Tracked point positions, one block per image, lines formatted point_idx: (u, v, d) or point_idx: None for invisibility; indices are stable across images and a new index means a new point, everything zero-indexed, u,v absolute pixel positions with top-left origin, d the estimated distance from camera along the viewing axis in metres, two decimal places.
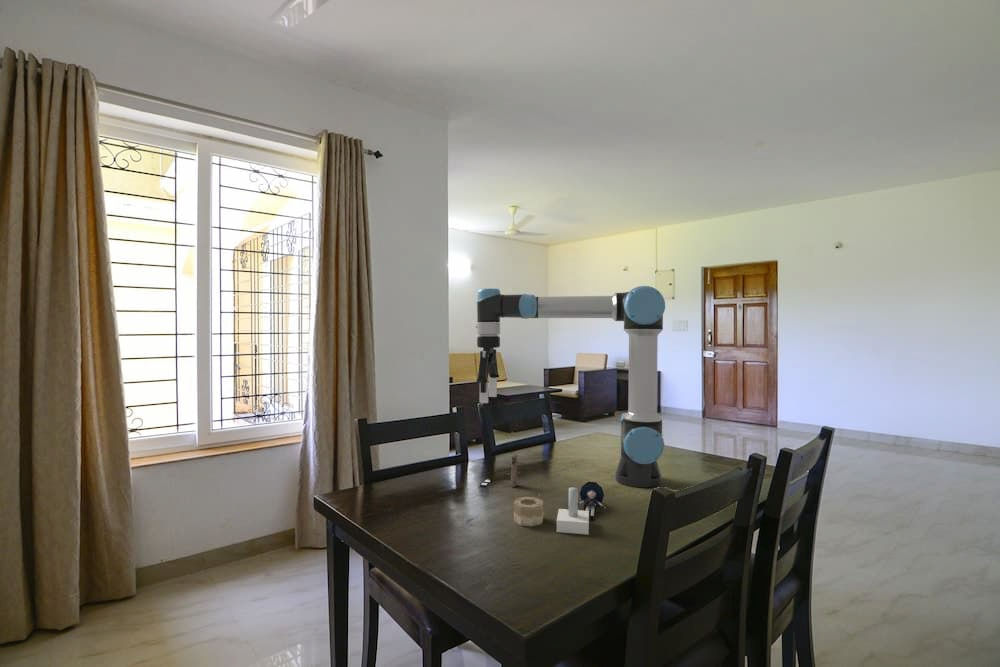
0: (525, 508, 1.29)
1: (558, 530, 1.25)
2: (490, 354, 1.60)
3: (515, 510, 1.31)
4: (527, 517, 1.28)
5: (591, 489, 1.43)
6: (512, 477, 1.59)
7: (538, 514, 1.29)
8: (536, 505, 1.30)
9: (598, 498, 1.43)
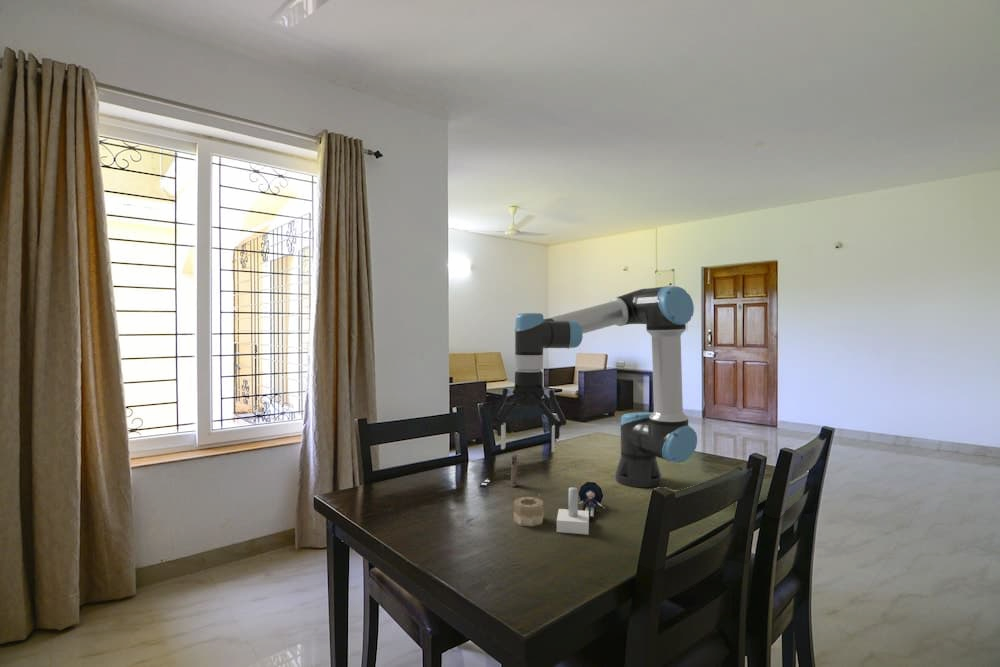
0: (525, 508, 1.29)
1: (558, 530, 1.25)
2: (520, 393, 1.31)
3: (515, 510, 1.31)
4: (527, 517, 1.28)
5: (590, 489, 1.43)
6: (513, 477, 1.60)
7: (538, 514, 1.29)
8: (536, 505, 1.30)
9: (597, 498, 1.42)
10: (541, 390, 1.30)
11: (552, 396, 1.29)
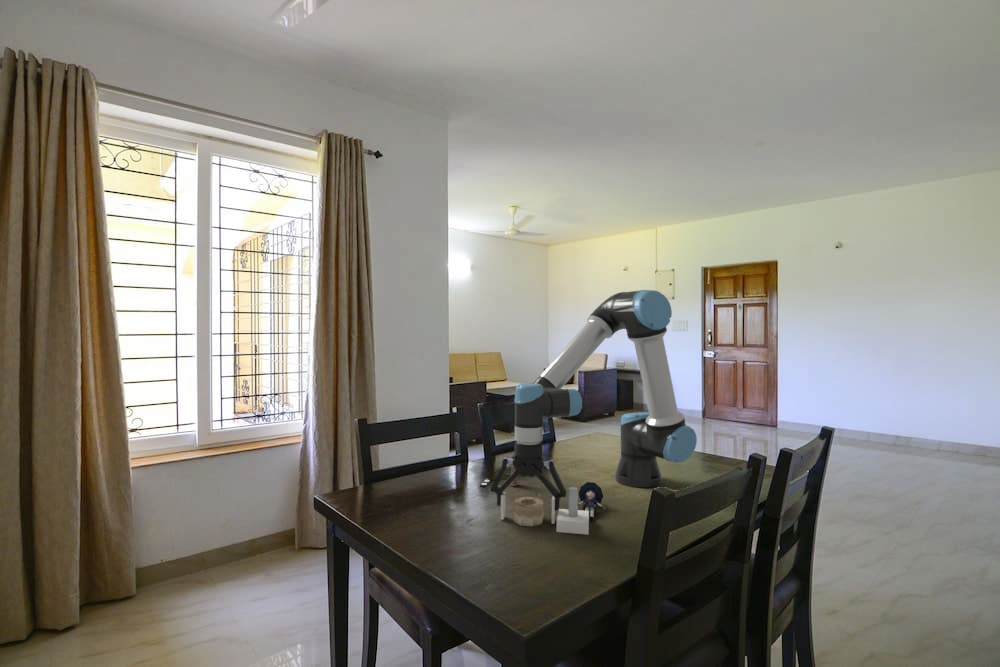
0: (525, 508, 1.29)
1: (558, 530, 1.25)
2: (520, 464, 1.31)
3: (515, 510, 1.31)
4: (527, 517, 1.28)
5: (590, 490, 1.43)
6: None
7: (538, 514, 1.29)
8: (536, 505, 1.30)
9: (597, 499, 1.42)
10: (541, 462, 1.30)
11: (552, 468, 1.30)
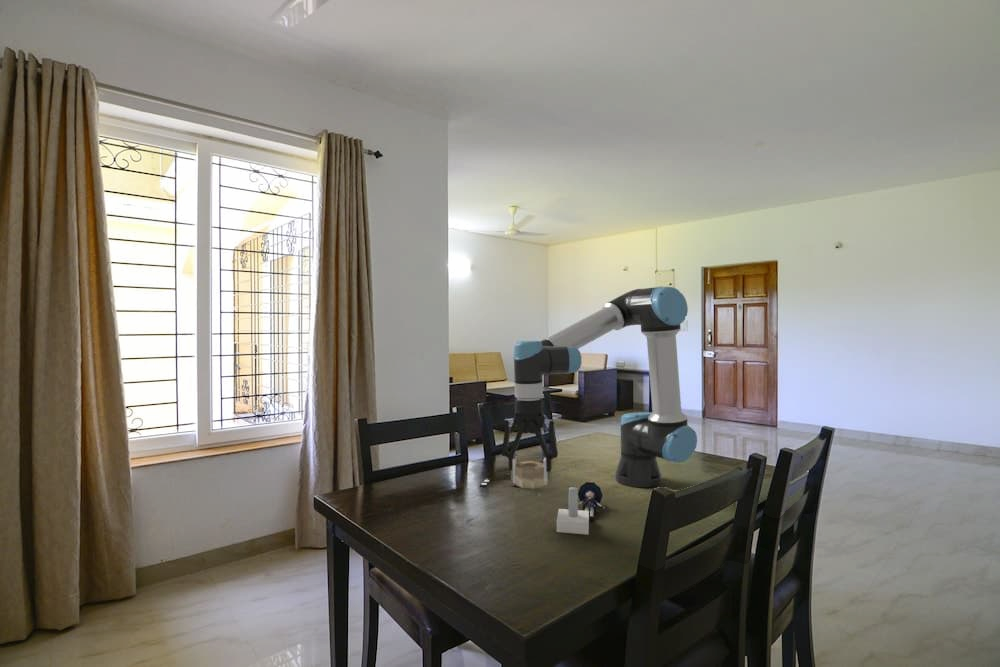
0: (526, 470, 1.29)
1: (558, 530, 1.25)
2: (520, 422, 1.31)
3: (517, 473, 1.31)
4: (529, 479, 1.28)
5: (589, 489, 1.43)
6: None
7: (540, 476, 1.29)
8: (537, 467, 1.30)
9: (596, 498, 1.42)
10: (542, 418, 1.30)
11: (551, 427, 1.30)
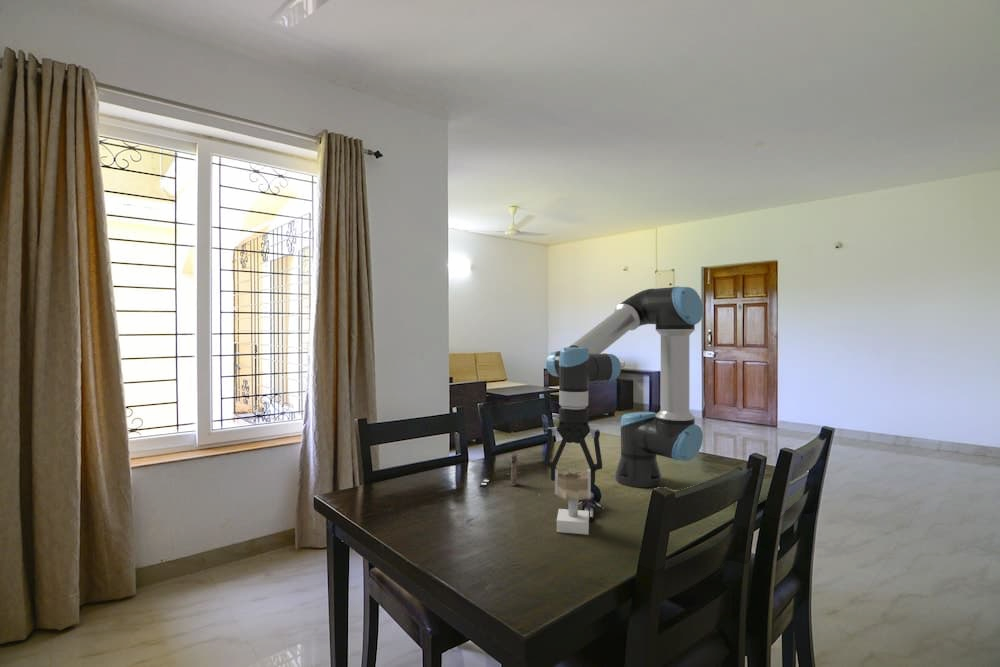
0: (571, 481, 1.24)
1: (558, 530, 1.25)
2: (565, 431, 1.27)
3: (559, 484, 1.26)
4: (573, 491, 1.24)
5: None
6: (513, 476, 1.61)
7: (584, 488, 1.25)
8: (582, 479, 1.25)
9: (595, 499, 1.42)
10: (587, 428, 1.26)
11: (597, 437, 1.25)
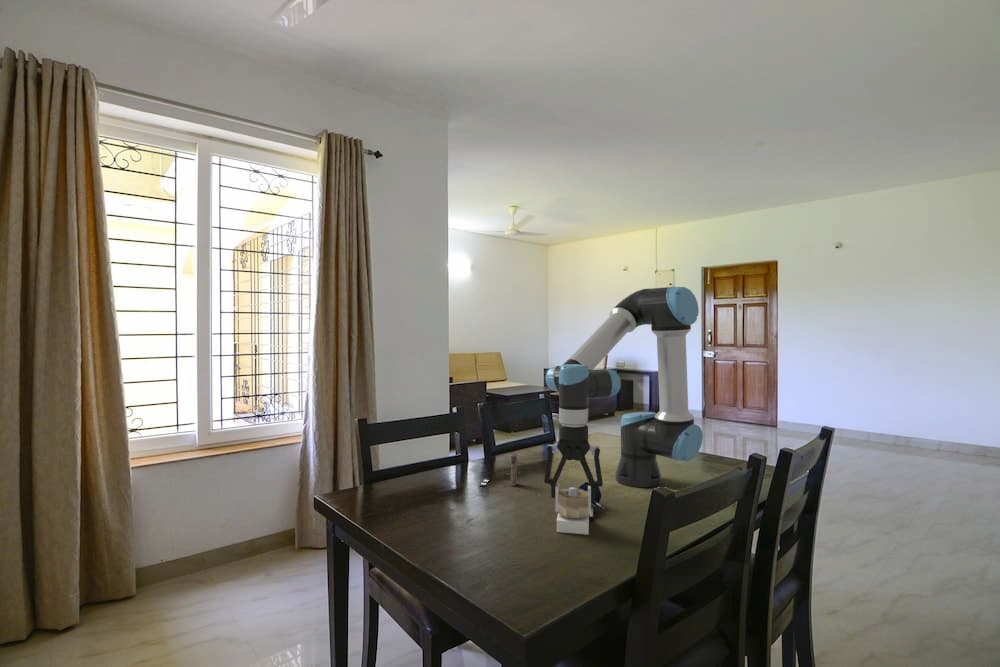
0: (571, 499, 1.24)
1: (558, 530, 1.25)
2: (565, 449, 1.27)
3: (560, 501, 1.26)
4: (573, 508, 1.24)
5: None
6: (512, 476, 1.60)
7: (584, 505, 1.25)
8: (582, 496, 1.25)
9: (595, 499, 1.42)
10: (588, 445, 1.26)
11: (597, 455, 1.25)
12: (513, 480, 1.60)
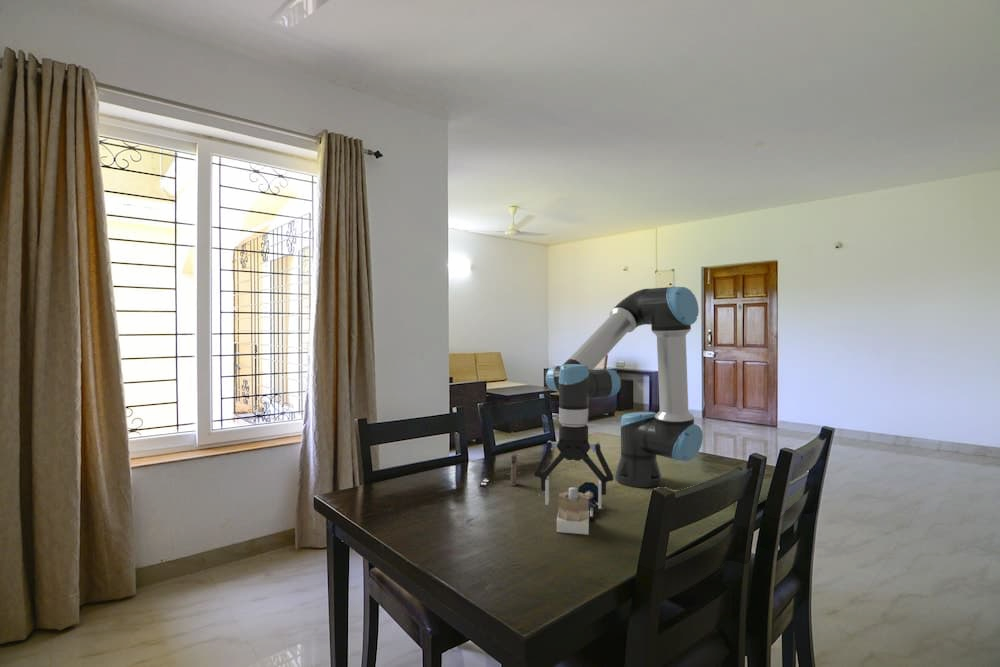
0: (571, 503, 1.24)
1: (558, 530, 1.25)
2: (565, 448, 1.27)
3: (560, 505, 1.26)
4: (573, 512, 1.24)
5: (588, 489, 1.43)
6: (512, 476, 1.61)
7: (584, 509, 1.25)
8: (582, 500, 1.25)
9: (595, 498, 1.42)
10: (587, 445, 1.26)
11: (598, 451, 1.25)
12: (513, 480, 1.60)
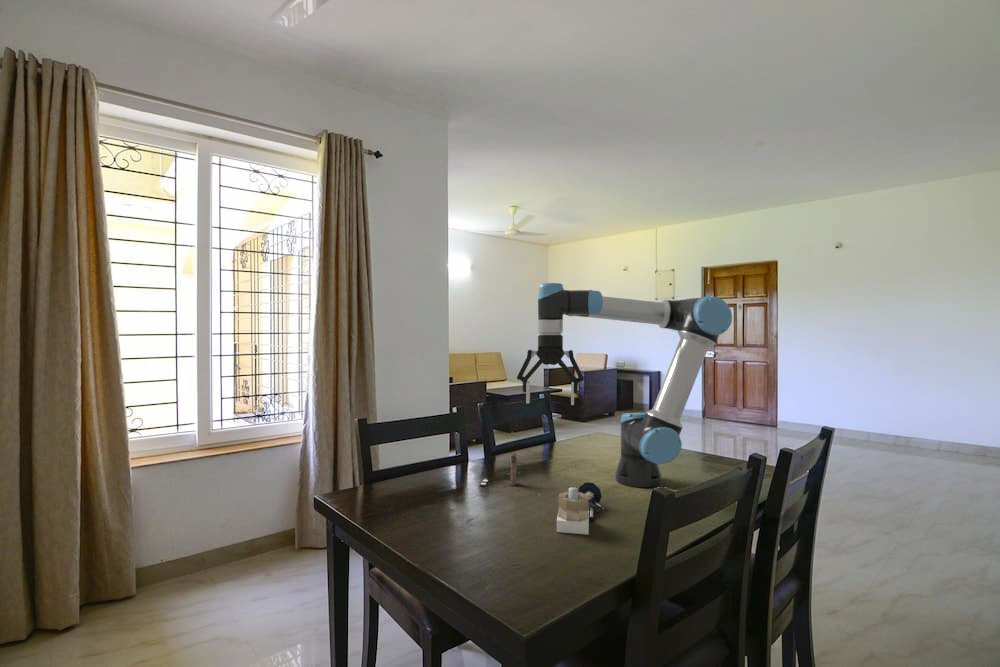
0: (571, 503, 1.24)
1: (558, 530, 1.25)
2: (543, 354, 1.49)
3: (560, 505, 1.26)
4: (573, 512, 1.24)
5: (588, 490, 1.43)
6: (512, 476, 1.61)
7: (584, 509, 1.25)
8: (582, 500, 1.25)
9: (596, 499, 1.42)
10: (561, 351, 1.48)
11: (571, 356, 1.47)
12: (513, 479, 1.61)
